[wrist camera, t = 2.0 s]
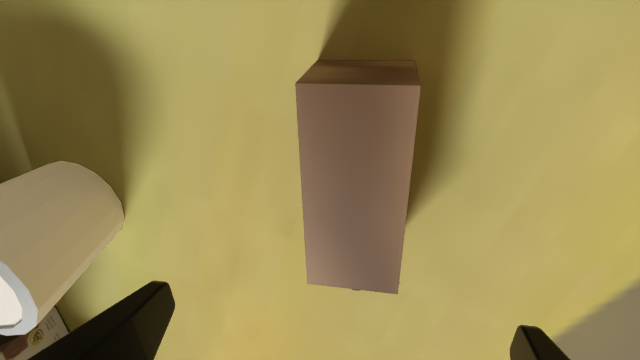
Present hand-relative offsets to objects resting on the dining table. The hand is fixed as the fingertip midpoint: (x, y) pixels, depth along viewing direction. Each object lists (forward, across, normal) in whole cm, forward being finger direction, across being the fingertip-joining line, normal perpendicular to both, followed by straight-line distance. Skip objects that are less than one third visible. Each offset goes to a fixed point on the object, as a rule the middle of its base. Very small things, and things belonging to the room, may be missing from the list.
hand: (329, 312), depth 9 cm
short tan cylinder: (+9, +17, +4) cm, 20 cm away
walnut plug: (+9, 0, +2) cm, 9 cm away
